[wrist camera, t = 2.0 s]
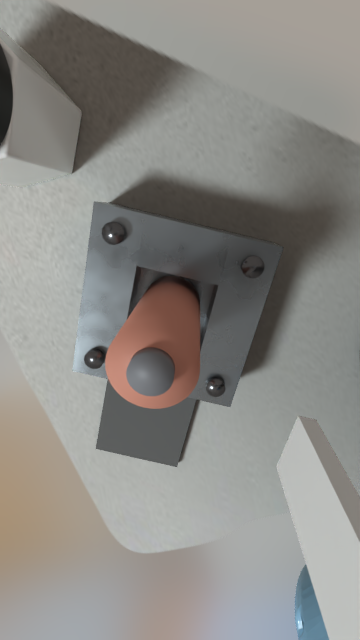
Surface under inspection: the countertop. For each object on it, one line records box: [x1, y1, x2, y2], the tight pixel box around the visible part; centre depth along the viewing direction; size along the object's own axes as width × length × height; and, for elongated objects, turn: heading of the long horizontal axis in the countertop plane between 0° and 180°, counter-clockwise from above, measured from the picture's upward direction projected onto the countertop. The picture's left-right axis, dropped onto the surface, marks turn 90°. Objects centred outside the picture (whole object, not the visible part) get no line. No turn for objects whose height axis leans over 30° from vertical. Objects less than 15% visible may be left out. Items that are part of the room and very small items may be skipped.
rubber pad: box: [96, 379, 196, 467], centre depth 33 cm, size 9×9×1 cm
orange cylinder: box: [105, 276, 200, 409], centre depth 22 cm, size 5×5×13 cm
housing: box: [73, 202, 283, 407], centre depth 27 cm, size 14×14×5 cm
